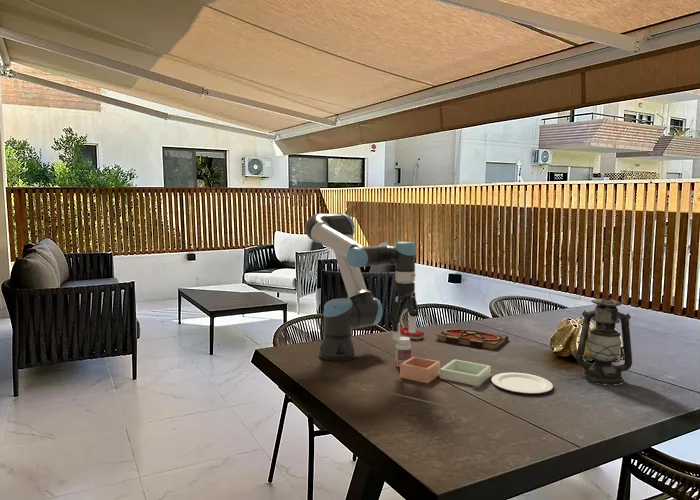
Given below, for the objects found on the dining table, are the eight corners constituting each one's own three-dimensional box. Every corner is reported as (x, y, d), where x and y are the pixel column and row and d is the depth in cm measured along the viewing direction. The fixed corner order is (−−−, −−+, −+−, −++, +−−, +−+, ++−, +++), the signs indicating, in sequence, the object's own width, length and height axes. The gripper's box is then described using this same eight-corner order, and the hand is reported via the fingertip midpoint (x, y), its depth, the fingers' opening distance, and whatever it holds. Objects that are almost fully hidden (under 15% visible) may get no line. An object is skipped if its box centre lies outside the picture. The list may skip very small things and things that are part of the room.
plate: (522, 401, 171) (522, 396, 171) (478, 381, 189) (479, 377, 189) (566, 391, 180) (566, 386, 180) (521, 373, 199) (521, 369, 199)
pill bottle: (414, 367, 203) (414, 339, 202) (401, 370, 200) (402, 341, 199) (404, 363, 208) (404, 335, 207) (392, 365, 205) (392, 337, 204)
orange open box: (399, 378, 190) (400, 363, 189) (413, 370, 199) (413, 356, 199) (427, 384, 184) (428, 369, 184) (439, 376, 193) (440, 361, 193)
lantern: (627, 375, 196) (632, 297, 194) (637, 393, 178) (642, 306, 176) (573, 369, 202) (577, 293, 200) (577, 386, 185) (582, 302, 182)
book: (508, 342, 245) (508, 332, 245) (494, 352, 227) (495, 340, 227) (450, 333, 260) (451, 323, 260) (434, 342, 242) (434, 331, 242)
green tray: (439, 379, 190) (439, 369, 189) (454, 369, 201) (454, 359, 201) (477, 387, 182) (478, 376, 182) (490, 376, 194) (490, 365, 193)
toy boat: (404, 334, 255) (404, 318, 254) (426, 337, 248) (426, 322, 247) (396, 337, 248) (397, 321, 248) (418, 341, 242) (419, 325, 241)
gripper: (398, 286, 189) (398, 344, 190) (427, 278, 209) (426, 330, 211) (380, 285, 193) (380, 341, 194) (410, 277, 214) (409, 328, 215)
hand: (404, 336), depth 203 cm, fingers open, 13 cm apart
